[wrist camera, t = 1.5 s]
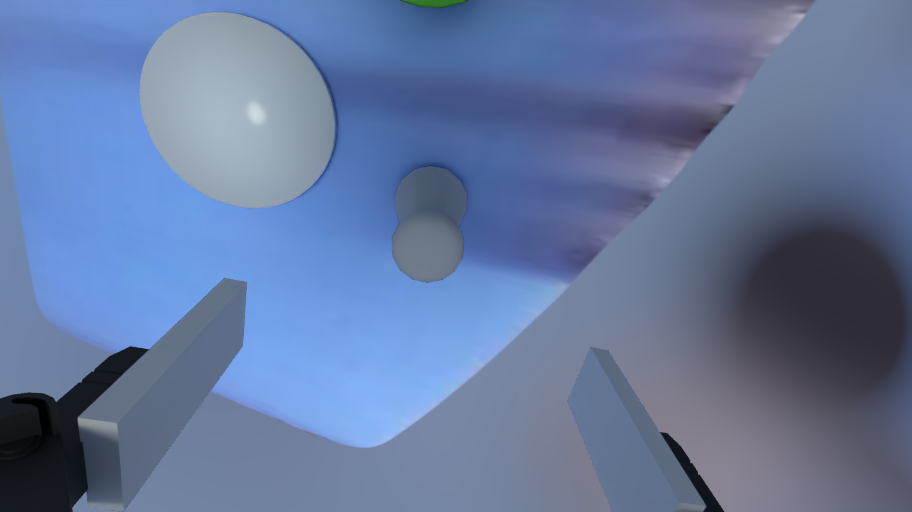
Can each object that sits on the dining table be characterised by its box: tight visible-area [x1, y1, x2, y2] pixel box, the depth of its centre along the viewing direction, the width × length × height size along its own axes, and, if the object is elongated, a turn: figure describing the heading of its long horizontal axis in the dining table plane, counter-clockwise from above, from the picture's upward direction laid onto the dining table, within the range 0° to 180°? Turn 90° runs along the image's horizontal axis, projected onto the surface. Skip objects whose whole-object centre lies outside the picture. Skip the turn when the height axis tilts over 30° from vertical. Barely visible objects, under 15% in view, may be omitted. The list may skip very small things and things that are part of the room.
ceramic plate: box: [140, 12, 337, 208], centre depth 32 cm, size 14×14×1 cm
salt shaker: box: [392, 166, 467, 283], centre depth 30 cm, size 6×6×13 cm
